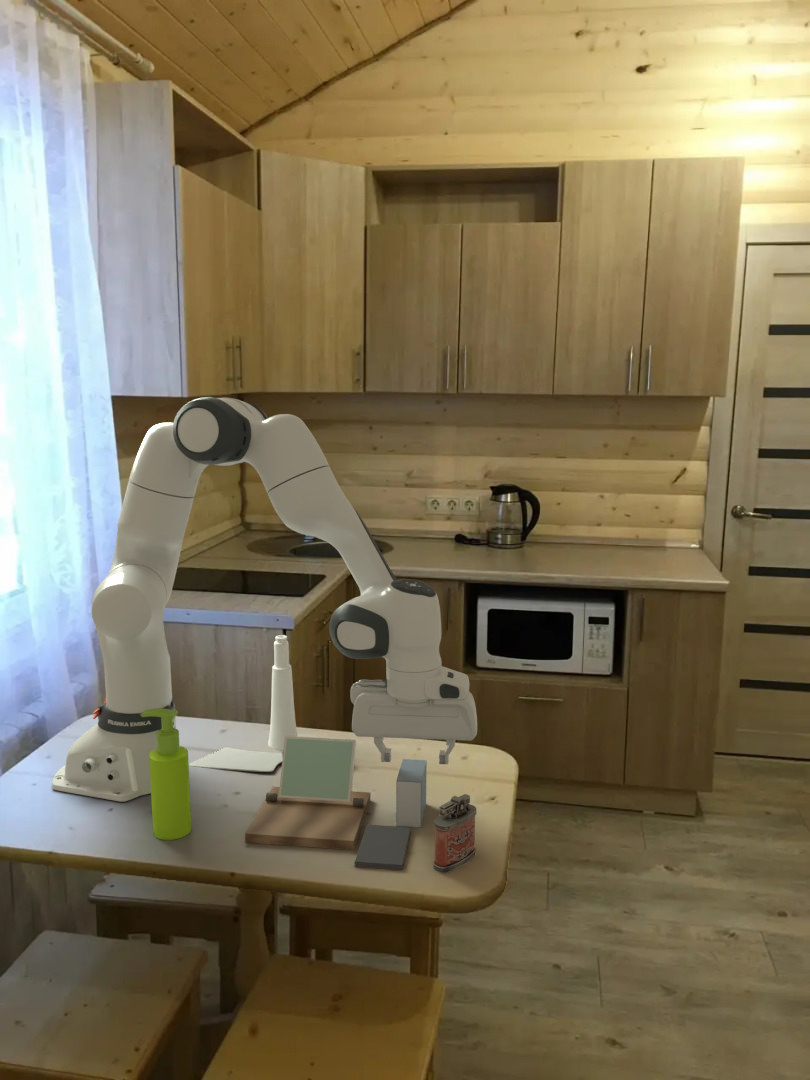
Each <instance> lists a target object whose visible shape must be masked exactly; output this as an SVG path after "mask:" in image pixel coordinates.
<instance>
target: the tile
mask: <svg viewBox="0 0 810 1080" xmlns="http://www.w3.org/2000/svg"><path fill="white" fill-rule="evenodd" d="M356 746H357V740H356V739H345V738H328V737H309V736H307V737H306V736H298V737H294V736H285V741H284V750H282V751H283V752H282V753H283V759H282V763H281V769H280V770H281V771H280V780H279V786H278V787H279V796H278V797H279V798H290V799H306V800H321V801H337V802H351V798H352V791H353V785H354V784H353V782H354V772H355V771H354V770H355V761H356V748H357V747H356Z"/></svg>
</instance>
